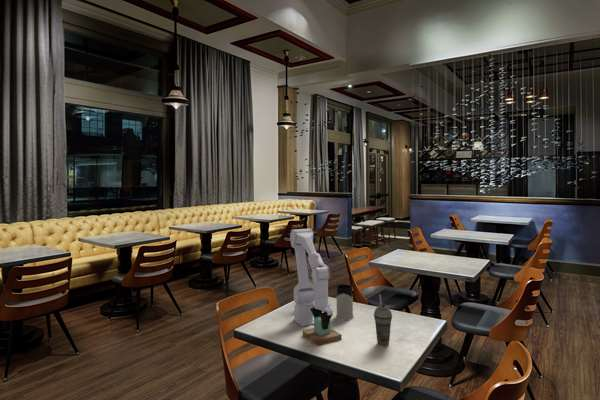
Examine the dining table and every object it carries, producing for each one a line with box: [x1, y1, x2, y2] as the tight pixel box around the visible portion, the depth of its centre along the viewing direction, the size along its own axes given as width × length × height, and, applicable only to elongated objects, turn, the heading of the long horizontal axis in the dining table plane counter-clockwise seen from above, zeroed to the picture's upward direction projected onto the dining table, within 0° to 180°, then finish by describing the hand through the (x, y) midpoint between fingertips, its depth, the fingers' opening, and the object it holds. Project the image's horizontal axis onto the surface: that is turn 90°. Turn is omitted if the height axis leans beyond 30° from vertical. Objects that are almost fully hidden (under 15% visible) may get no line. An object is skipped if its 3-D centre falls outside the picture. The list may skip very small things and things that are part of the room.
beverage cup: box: [373, 293, 393, 347], centre depth 146 cm, size 7×7×20 cm
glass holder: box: [335, 284, 355, 321], centre depth 180 cm, size 9×14×15 cm, turn 167°
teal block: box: [313, 316, 331, 335], centre depth 154 cm, size 5×5×6 cm
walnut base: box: [302, 327, 343, 346], centre depth 154 cm, size 12×12×2 cm
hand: (321, 326), depth 154 cm, fingers open, 5 cm apart
